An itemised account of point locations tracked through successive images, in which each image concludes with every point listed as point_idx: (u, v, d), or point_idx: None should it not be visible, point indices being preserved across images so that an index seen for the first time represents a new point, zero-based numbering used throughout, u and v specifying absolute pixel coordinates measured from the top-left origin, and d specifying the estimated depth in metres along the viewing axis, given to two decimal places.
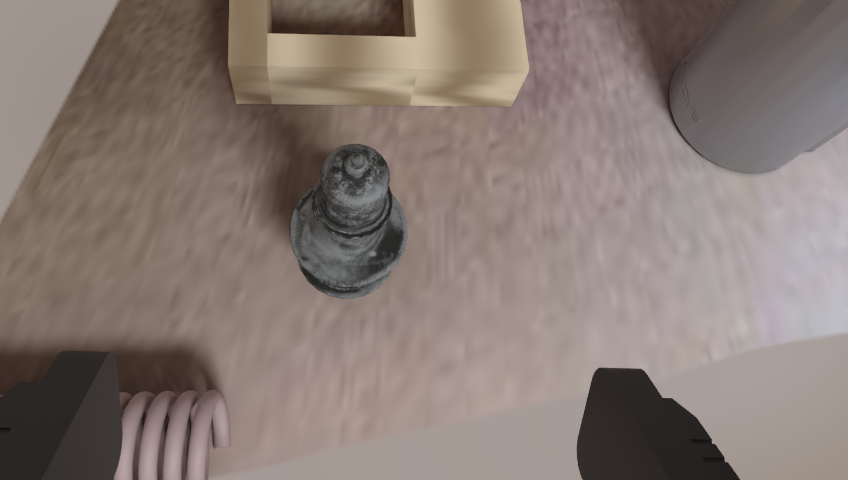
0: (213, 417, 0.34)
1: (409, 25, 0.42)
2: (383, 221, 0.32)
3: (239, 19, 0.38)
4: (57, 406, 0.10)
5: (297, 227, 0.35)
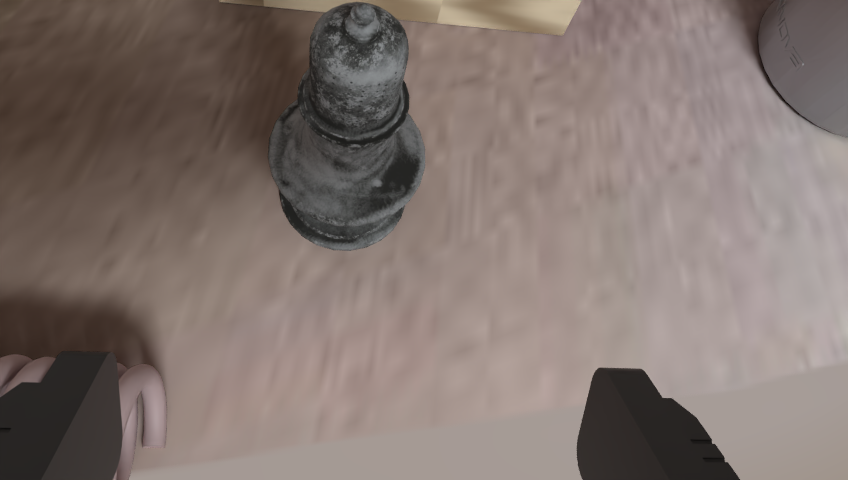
0: (145, 404, 0.25)
1: None
2: (394, 127, 0.23)
3: None
4: (57, 406, 0.10)
5: (279, 143, 0.26)
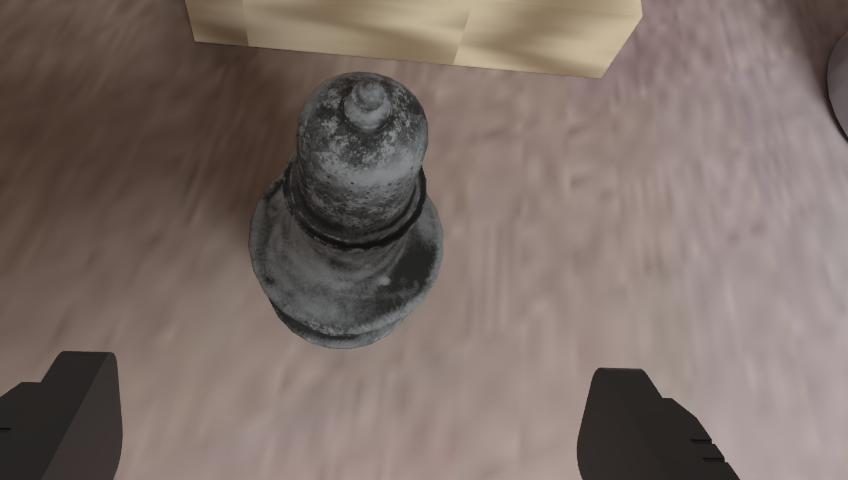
0: None
1: None
2: (408, 224, 0.18)
3: None
4: (57, 406, 0.10)
5: (262, 228, 0.21)
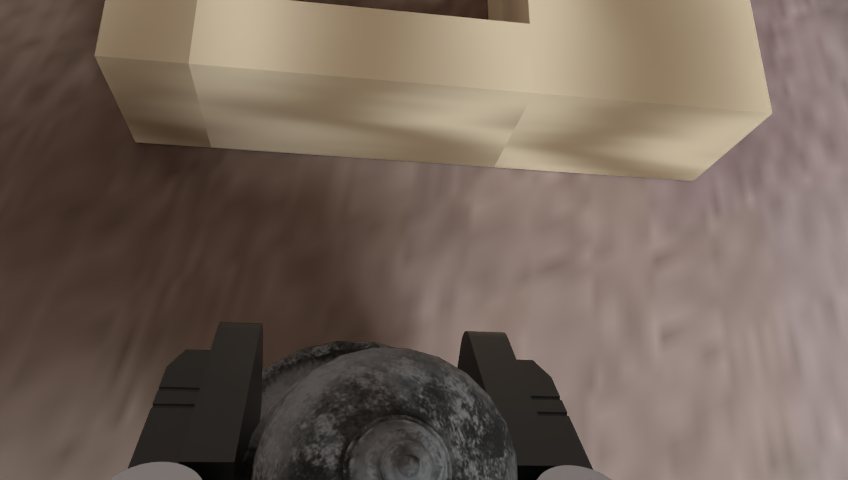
0: None
1: (505, 5, 0.20)
2: None
3: None
4: (233, 368, 0.11)
5: None
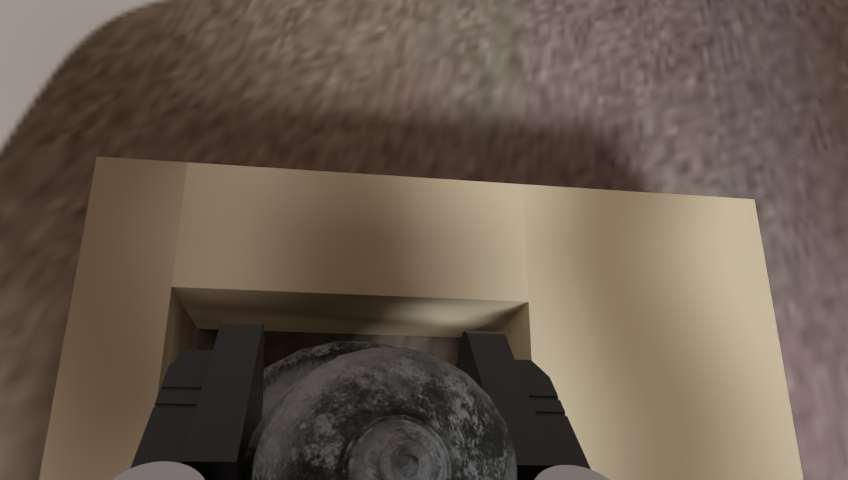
0: None
1: None
2: None
3: None
4: (235, 368, 0.11)
5: None
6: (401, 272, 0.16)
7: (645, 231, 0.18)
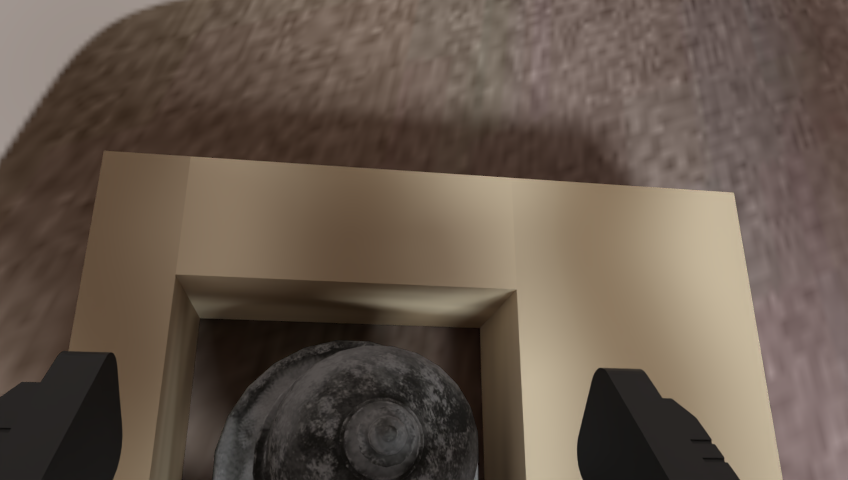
0: None
1: None
2: None
3: None
4: (57, 406, 0.10)
5: (231, 463, 0.15)
6: (394, 261, 0.17)
7: (629, 223, 0.18)
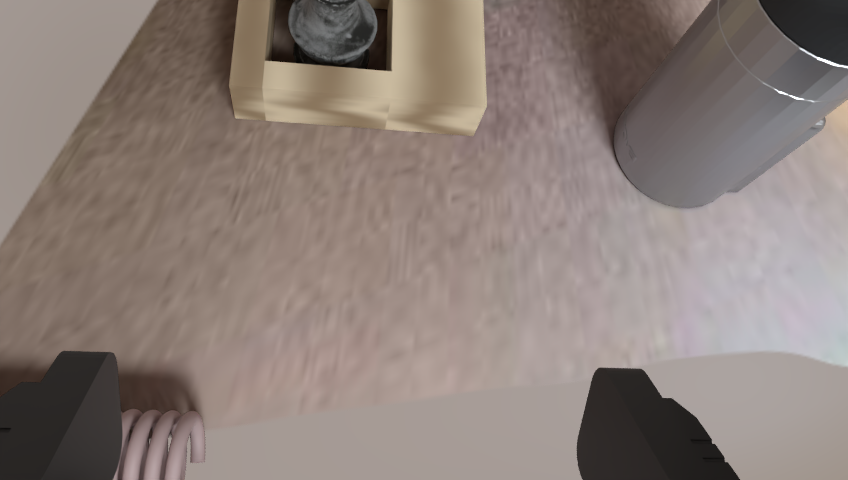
0: (191, 435, 0.39)
1: (389, 61, 0.48)
2: None
3: (242, 47, 0.45)
4: (57, 406, 0.10)
5: (294, 14, 0.47)
6: None
7: None
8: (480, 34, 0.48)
